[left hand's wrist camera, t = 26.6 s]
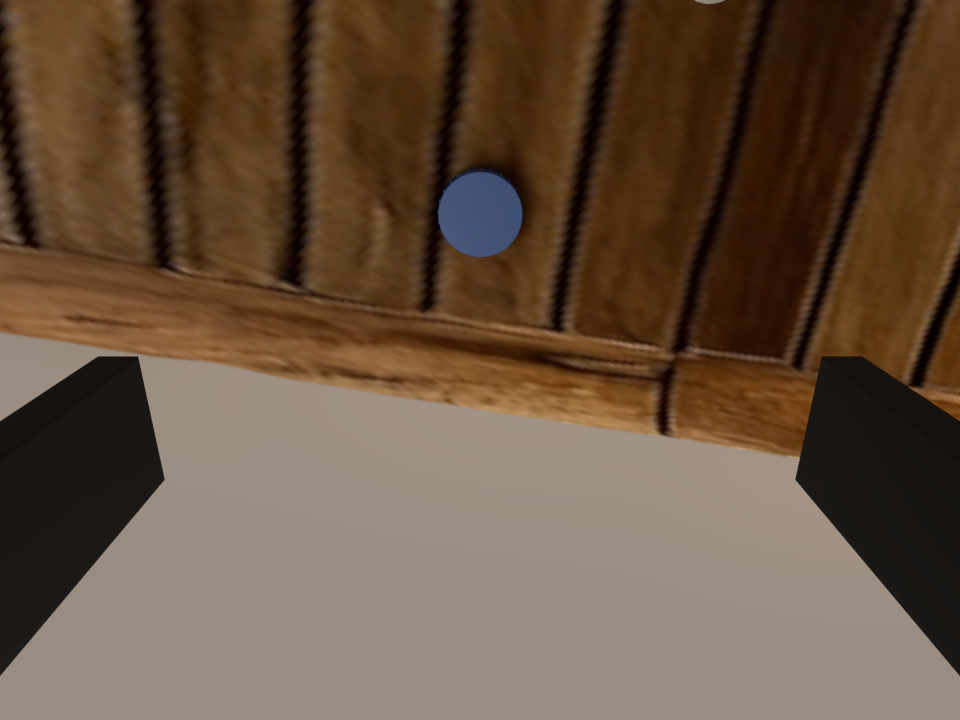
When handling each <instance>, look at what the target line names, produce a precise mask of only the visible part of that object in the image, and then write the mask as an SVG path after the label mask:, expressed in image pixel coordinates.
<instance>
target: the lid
mask: <svg viewBox="0 0 960 720" xmlns="http://www.w3.org/2000/svg"><path fill="white" fill-rule="evenodd" d="M443 192H444V193H443V196H441V198H440V200H439V202H440V205H439V208H438V217H439V221H438V222H439V224H440V228H441V230H442V233H443V235H444V236H445V238H446V239H447V241H448V242H449V243H450V244H451V245H452V246H453V247H454V248H455V249H457V250H458V251H460V252H462V253H464V254H467V255H470V256H474V257H486V256H491V255H494V254H497V253H499V252H501V251H502V250H504V249H505V248H507V247H508V246H509V245H510V244H511V243H512V242H513V241H514V239H515V238H516V236H517V234H518V233H519V230H520V227H521V223H522V222H523V221H522V212H523V208H522V205H521V201H522V200H521V198H520V196H518V194H517V189H516V187H514V186H513V185H512V183H511V182H510V179H509V178H508V179H507V178H506V177H505V176H503V175H502V174H501V172H499V173H498V172H496V171H493V170H492V169H491V168H490V169H485V168H481V167H479V168H476V169H471V168H469V170H467V171H465V172H463V173H461V172H460V173H459V175H458V176H456V177H455V178H454V179H451V181H450V183H449V184H448V186H447V187H445V188H444V191H443Z"/></svg>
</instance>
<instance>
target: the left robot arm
mask: <svg viewBox="0 0 960 720" xmlns="http://www.w3.org/2000/svg"><path fill="white" fill-rule="evenodd" d="M795 480H796V481H797V482H798V483H799V485H800V486H801V487H802V488H803V489H804V491H805V492H806V493H807V494H808V495H809V496H810V498H811V499H812V500H813V501H814V502H815V504H816V505H817V506H818V507H819V508H820V510H821V511H822V512H823V513H824V514H825V516H826V517H827V518H828V519H829V520H830V522H831V523H832V524H833V525H834V526H835V528H836V529H837V530H838V531H839V532H840V533H841V535H842V536H843V537H844V538H845V539H846V541H847V542H848V543H849V544H850V545H851V547H852V548H853V549H854V550H855V551H856V553H857V554H858V555H859V556H860V557H861V559H862V560H863V561H864V562H865V563H866V565H867V566H868V567H869V568H870V569H871V570H872V572H873V573H874V574H875V575H876V576H877V578H878V579H879V580H880V581H881V582H882V584H883V585H884V586H885V587H886V588H887V590H888V591H889V592H890V593H891V594H892V596H893V597H894V598H895V599H896V600H897V601H898V603H899V604H900V605H901V606H902V607H903V609H904V610H905V611H906V612H907V613H908V615H909V616H910V617H911V618H912V619H913V621H914V622H915V623H916V624H917V625H918V627H919V628H920V629H921V630H922V631H923V632H924V634H925V635H926V636H927V637H928V638H929V640H930V641H931V642H932V643H933V644H934V646H935V647H936V648H937V649H938V650H939V652H940V653H941V654H942V655H943V656H944V658H945V659H946V660H947V661H948V662H949V664H950V665H951V666H952V667H953V668H954V669H955V671H956V672H957V673H958V674H959V675H960V421H959V420H957V419H955V418H954V417H952V416H951V415H949V414H948V413H946V412H945V411H943V410H942V409H940V408H939V407H937V406H936V405H934V404H933V403H931V402H930V401H928V400H927V399H925V398H924V397H922V396H921V395H919V394H918V393H916V392H915V391H913V390H912V389H910V388H909V387H907V386H906V385H904V384H903V383H901V382H900V381H898V380H897V379H895V378H894V377H892V376H891V375H889V374H888V373H886V372H885V371H883V370H882V369H880V368H879V367H877V366H875V365H874V364H872V363H871V362H869V361H868V360H866V359H865V358H863V357H822V359H821V363H820V368H819V373H818V377H817V382H816V387H815V391H814V396H813V400H812V405H811V410H810V414H809V419H808V424H807V428H806V433H805V437H804V442H803V447H802V451H801V456H800V461H799V465H798V470H797V475H796V479H795ZM163 481H164V475H163V470H162V465H161V461H160V456H159V452H158V447H157V442H156V438H155V433H154V428H153V424H152V419H151V414H150V410H149V405H148V401H147V396H146V391H145V387H144V382H143V377H142V373H141V368H140V364H139V359H138V357H97V358H95V359H94V360H92V361H91V362H89V363H88V364H86V365H85V366H83V367H82V368H80V369H78V370H77V371H75V372H74V373H72V374H71V375H69V376H68V377H66V378H65V379H63V380H62V381H60V382H59V383H57V384H56V385H54V386H53V387H51V388H50V389H48V390H47V391H45V392H44V393H42V394H41V395H39V396H38V397H36V398H35V399H33V400H32V401H30V402H29V403H27V404H26V405H24V406H23V407H21V408H20V409H18V410H17V411H15V412H14V413H12V414H11V415H9V416H8V417H6V418H5V419H3V420H1V421H0V675H1V674H2V673H3V672H4V671H5V669H6V668H7V667H8V666H9V665H10V663H11V662H12V661H13V660H14V659H15V658H16V656H17V655H18V654H19V653H20V652H21V650H22V649H23V648H24V647H25V646H26V644H27V643H28V642H29V641H30V640H31V638H32V637H33V636H34V635H35V634H36V632H37V631H38V630H39V629H40V628H41V627H42V625H43V624H44V623H45V622H46V621H47V619H48V618H49V617H50V616H51V615H52V613H53V612H54V611H55V610H56V609H57V607H58V606H59V605H60V604H61V603H62V601H63V600H64V599H65V598H66V597H67V595H68V594H69V593H70V592H71V591H72V590H73V588H74V587H75V586H76V585H77V584H78V582H79V581H80V580H81V579H82V578H83V576H84V575H85V574H86V573H87V572H88V570H89V569H90V568H91V567H92V566H93V564H94V563H95V562H96V561H97V560H98V558H99V557H100V556H101V555H102V554H103V552H104V551H105V550H106V549H107V548H108V547H109V545H110V544H111V543H112V542H113V541H114V539H115V538H116V537H117V536H118V535H119V533H120V532H121V531H122V530H123V529H124V528H125V526H126V525H127V524H128V523H129V522H130V520H131V519H132V518H133V517H134V516H135V514H136V513H137V512H138V511H139V510H140V508H141V507H142V506H143V505H144V504H145V502H146V501H147V500H148V499H149V498H150V496H151V495H152V494H153V493H154V492H155V490H156V489H157V488H158V487H159V486H160V485H161V483H162V482H163Z"/></svg>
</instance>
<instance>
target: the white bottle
mask: <svg viewBox="0 0 960 720" xmlns="http://www.w3.org/2000/svg"><path fill="white" fill-rule="evenodd" d="M695 1H697V2H700V3H705V4H714V3H719V2H722V1H725V0H695Z"/></svg>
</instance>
